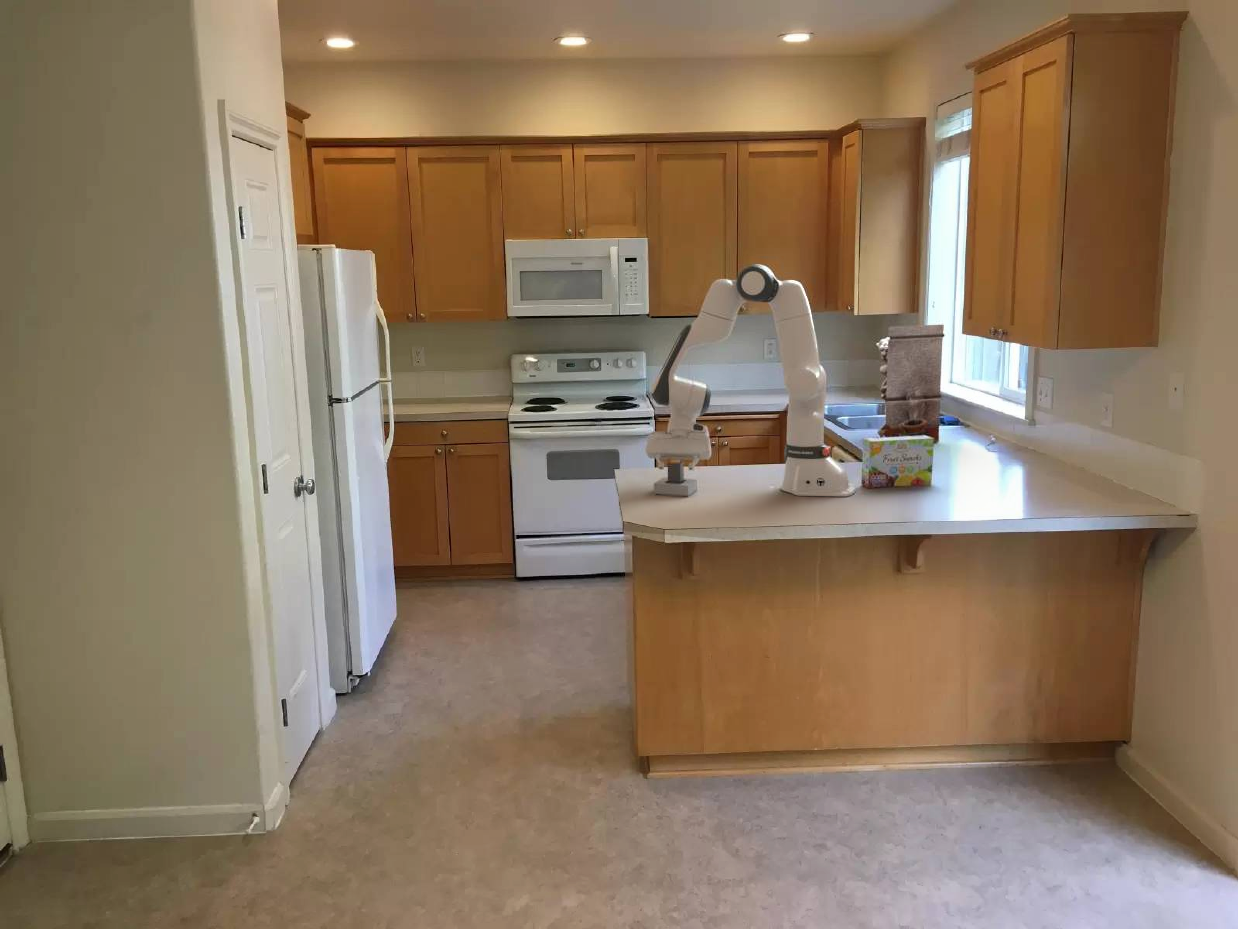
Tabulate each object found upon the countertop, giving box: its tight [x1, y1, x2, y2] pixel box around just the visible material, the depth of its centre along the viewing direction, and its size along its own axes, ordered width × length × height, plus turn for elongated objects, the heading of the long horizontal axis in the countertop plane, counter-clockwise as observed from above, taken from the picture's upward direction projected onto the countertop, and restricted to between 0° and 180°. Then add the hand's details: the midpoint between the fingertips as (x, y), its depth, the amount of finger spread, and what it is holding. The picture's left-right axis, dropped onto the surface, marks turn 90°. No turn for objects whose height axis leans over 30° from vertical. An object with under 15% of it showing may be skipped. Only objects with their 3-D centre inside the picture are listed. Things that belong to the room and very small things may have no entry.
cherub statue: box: [876, 324, 945, 443], centre depth 363 cm, size 23×19×45 cm
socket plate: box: [653, 477, 698, 498], centre depth 290 cm, size 11×9×4 cm
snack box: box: [860, 435, 935, 489], centre depth 292 cm, size 21×6×15 cm, turn 101°
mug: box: [885, 419, 927, 437], centre depth 324 cm, size 18×12×15 cm, turn 118°
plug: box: [667, 459, 685, 484], centre depth 289 cm, size 4×4×10 cm
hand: (675, 468), depth 289 cm, fingers open, 8 cm apart
